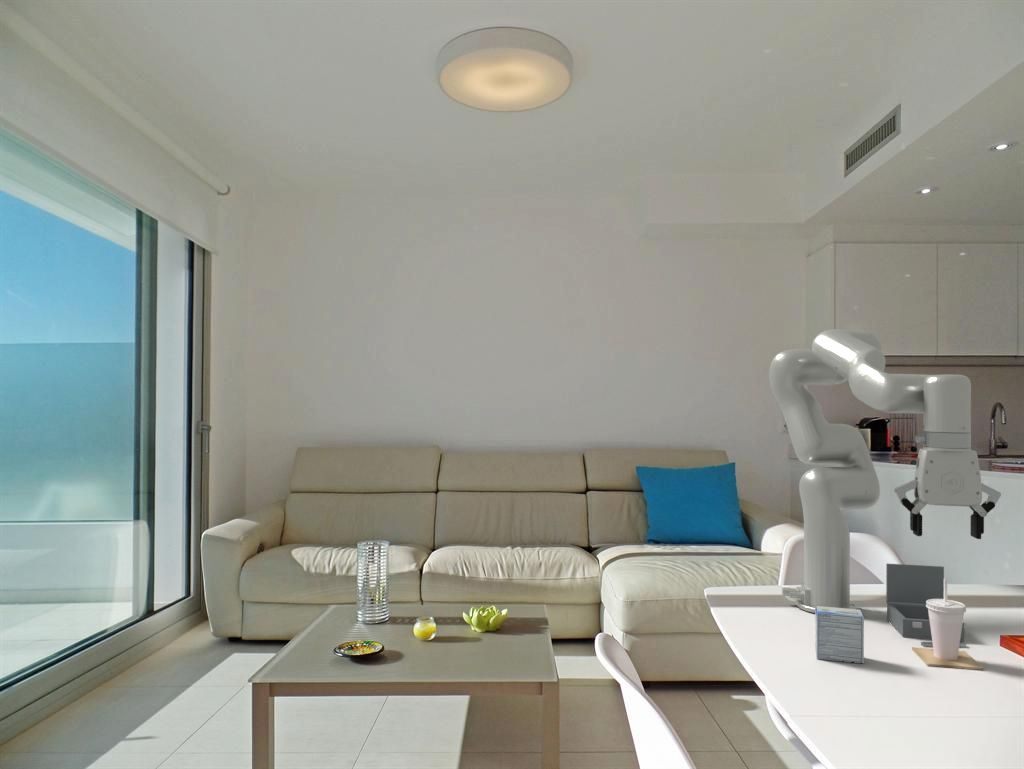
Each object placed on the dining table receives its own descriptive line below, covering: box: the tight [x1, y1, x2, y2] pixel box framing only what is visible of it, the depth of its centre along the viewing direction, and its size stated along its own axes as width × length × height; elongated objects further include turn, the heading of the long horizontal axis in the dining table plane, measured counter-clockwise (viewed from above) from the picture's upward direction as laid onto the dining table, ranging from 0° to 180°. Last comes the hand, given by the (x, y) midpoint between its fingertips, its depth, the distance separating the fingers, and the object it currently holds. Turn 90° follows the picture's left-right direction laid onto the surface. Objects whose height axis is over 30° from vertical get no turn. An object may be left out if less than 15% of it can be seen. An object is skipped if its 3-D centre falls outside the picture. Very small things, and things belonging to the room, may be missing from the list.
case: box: [885, 563, 965, 642], centre depth 154 cm, size 11×13×12 cm
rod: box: [920, 641, 967, 649], centre depth 144 cm, size 8×1×1 cm, turn 89°
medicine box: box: [814, 606, 865, 665], centre depth 137 cm, size 8×4×9 cm, turn 71°
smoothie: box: [926, 577, 967, 660], centre depth 137 cm, size 6×6×14 cm
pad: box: [911, 646, 985, 671], centre depth 137 cm, size 9×9×1 cm
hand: (946, 536), depth 137 cm, fingers open, 9 cm apart
